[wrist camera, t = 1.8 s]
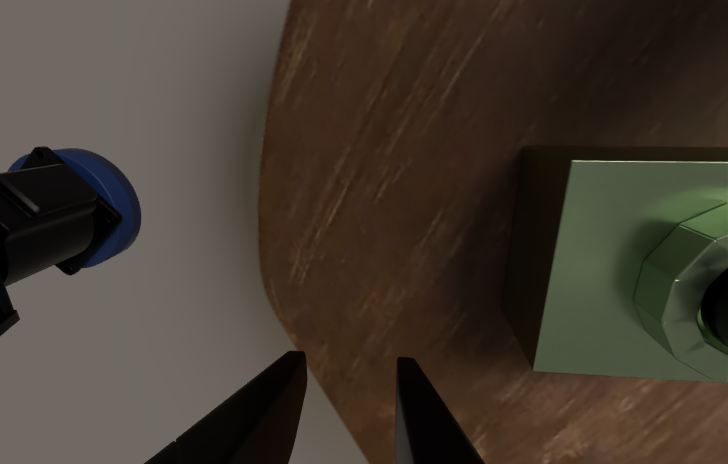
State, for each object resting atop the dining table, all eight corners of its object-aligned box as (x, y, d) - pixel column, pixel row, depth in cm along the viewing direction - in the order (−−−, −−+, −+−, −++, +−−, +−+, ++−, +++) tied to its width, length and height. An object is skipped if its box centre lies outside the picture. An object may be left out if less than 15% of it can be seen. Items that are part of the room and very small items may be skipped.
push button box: (500, 309, 22) (547, 401, 15) (523, 145, 19) (596, 166, 12) (679, 317, 22) (817, 418, 14) (734, 147, 18) (946, 170, 11)
